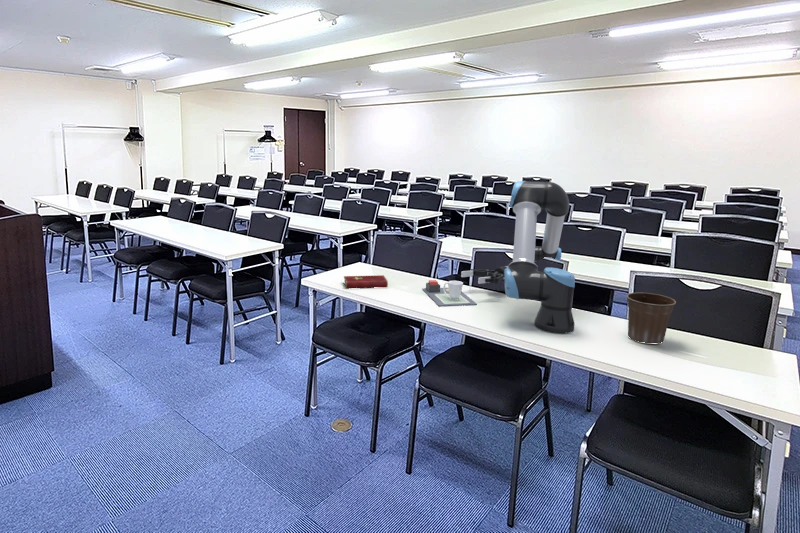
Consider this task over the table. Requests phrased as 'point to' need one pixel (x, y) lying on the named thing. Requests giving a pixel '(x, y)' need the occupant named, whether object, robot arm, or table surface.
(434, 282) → the button
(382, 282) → the hardcover book
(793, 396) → the table surface
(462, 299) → the picture board
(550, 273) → the robot arm
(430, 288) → the button housing
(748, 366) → the table surface
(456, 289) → the cup
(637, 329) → the plant pot
